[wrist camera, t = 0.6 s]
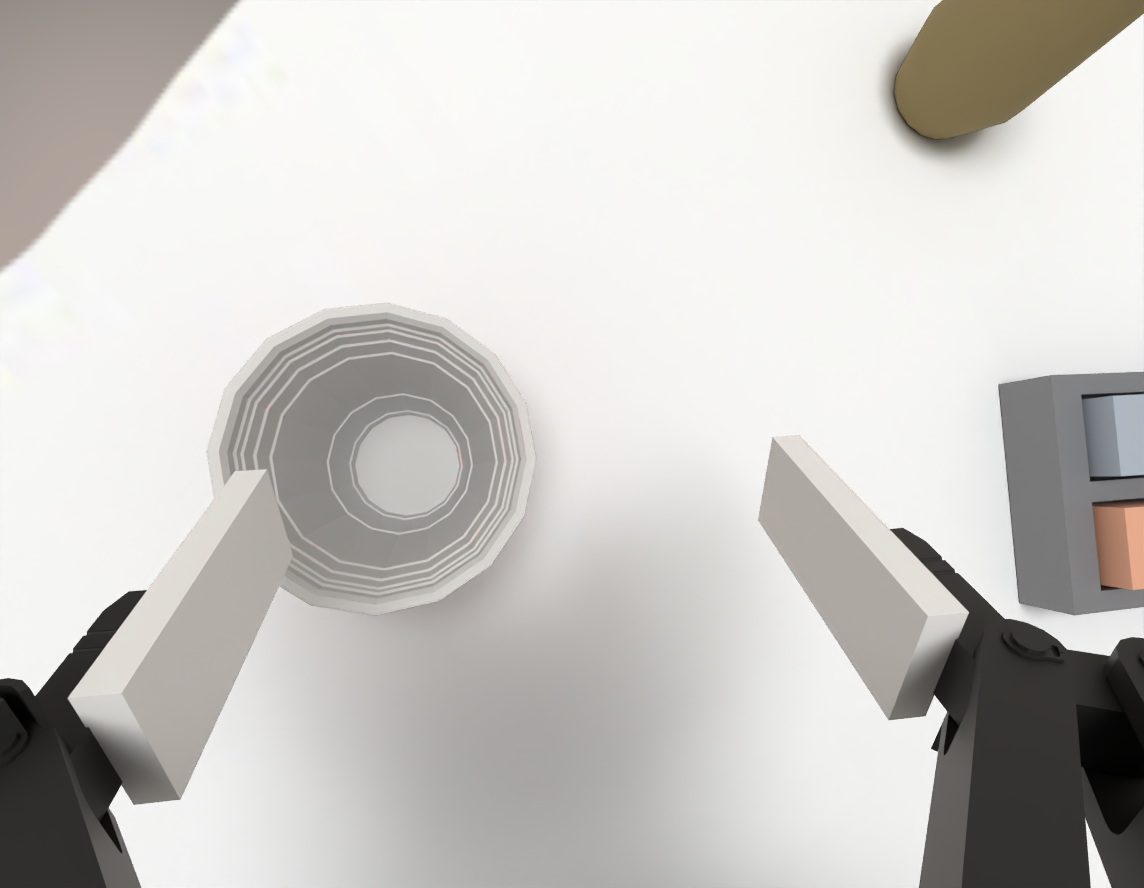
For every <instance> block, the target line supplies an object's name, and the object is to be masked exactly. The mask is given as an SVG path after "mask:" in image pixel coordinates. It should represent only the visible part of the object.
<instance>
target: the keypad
mask: <svg viewBox="0 0 1144 888" xmlns="http://www.w3.org/2000/svg"><path fill="white" fill-rule="evenodd" d="M999 392H1000V402H1001V413H1002V424H1003V434H1004V445H1005V455H1006V466H1007V476H1008V487H1009V497H1010V508H1011V519H1012V529H1013V540H1014V550H1015V561H1016V571H1017V582H1018V593H1019V603H1023V604H1027V605H1031V606H1036V607H1040V608H1045V609H1049V610H1054V611H1058V612H1062V613H1067V614H1071V615H1081V614H1089V613H1097V612H1105V611H1114V610H1122V609H1130V608H1138V607H1144V589H1139V590H1129V589H1123V588H1117V587H1111V586H1105V585H1100V576H1099V566H1098V556H1097V546H1096V536H1095V526H1094V516H1093V506H1092V504H1098V503H1110V502H1122V501H1144V475H1132V476H1089V467H1088V457H1087V447H1086V437H1085V427H1084V417H1083V408H1082V400H1083V399H1091V398H1099V397H1107V396H1118V395H1140V394H1144V372H1128V373H1101V374H1075V375H1050V376H1045V377H1039V378H1033V379H1028V380H1022V381H1016V382H1011V383H1005V384H999Z"/></svg>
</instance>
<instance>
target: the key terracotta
mask: <svg viewBox="0 0 1144 888" xmlns="http://www.w3.org/2000/svg"><path fill="white" fill-rule="evenodd" d="M1092 506H1093V516H1094V526H1095V536H1096V546H1097V556H1098V566H1099V576H1100V585H1105V586H1111V587H1117V588H1123V589H1129V590H1139V589H1144V501H1122V502H1110V503H1098V504H1092Z"/></svg>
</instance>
